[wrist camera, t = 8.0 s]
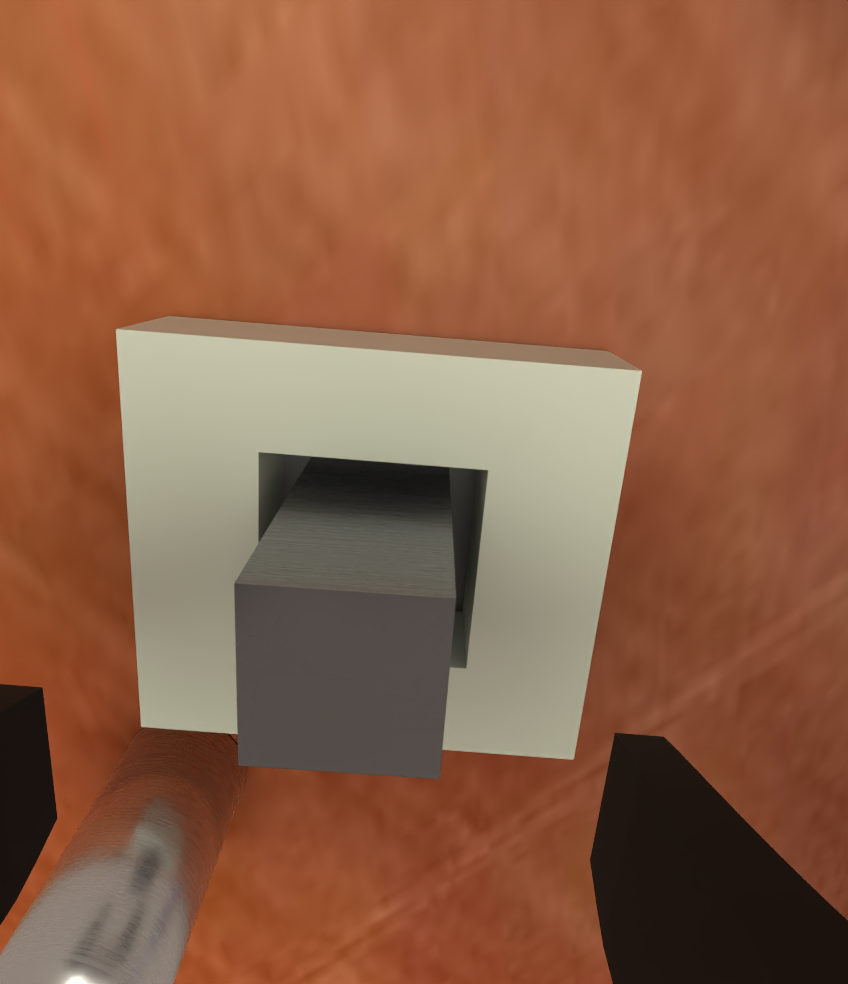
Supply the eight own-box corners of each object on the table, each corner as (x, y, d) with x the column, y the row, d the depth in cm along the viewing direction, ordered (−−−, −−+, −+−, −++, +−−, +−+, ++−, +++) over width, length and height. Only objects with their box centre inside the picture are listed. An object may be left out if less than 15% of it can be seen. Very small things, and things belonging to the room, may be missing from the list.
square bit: (448, 461, 17) (455, 598, 10) (439, 582, 18) (439, 778, 11) (314, 451, 17) (233, 583, 10) (312, 574, 18) (238, 765, 11)
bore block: (608, 350, 16) (642, 370, 13) (554, 688, 19) (573, 759, 16) (169, 316, 16) (116, 329, 13) (182, 660, 19) (141, 727, 16)
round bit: (243, 720, 20) (144, 964, 13) (249, 817, 21) (159, 1088, 14) (121, 713, 20) (-42, 955, 13) (132, 811, 21) (-11, 1079, 14)
